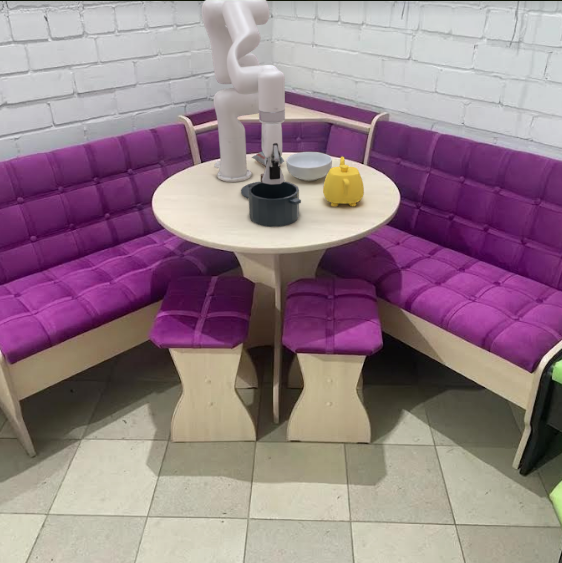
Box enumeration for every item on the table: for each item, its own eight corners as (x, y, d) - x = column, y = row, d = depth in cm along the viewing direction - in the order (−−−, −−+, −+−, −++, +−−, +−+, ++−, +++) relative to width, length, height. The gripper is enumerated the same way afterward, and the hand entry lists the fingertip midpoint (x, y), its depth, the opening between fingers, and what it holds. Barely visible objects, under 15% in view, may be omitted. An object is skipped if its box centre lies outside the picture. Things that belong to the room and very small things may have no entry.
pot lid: (264, 206, 186) (263, 187, 183) (231, 193, 196) (230, 175, 193) (298, 192, 196) (298, 174, 193) (265, 180, 206) (265, 163, 203)
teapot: (359, 188, 198) (361, 154, 192) (366, 212, 181) (368, 175, 175) (321, 189, 198) (322, 155, 192) (324, 212, 181) (325, 176, 175)
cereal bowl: (292, 167, 217) (292, 149, 214) (335, 171, 213) (336, 153, 210) (281, 183, 204) (280, 164, 200) (326, 187, 200) (326, 168, 196)
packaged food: (265, 170, 215) (264, 158, 212) (251, 161, 224) (251, 149, 221) (285, 167, 218) (285, 154, 216) (270, 158, 227) (270, 146, 225)
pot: (280, 234, 169) (279, 206, 164) (233, 214, 181) (232, 188, 177) (315, 218, 178) (315, 191, 173) (268, 200, 191) (268, 174, 186)
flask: (282, 185, 170) (282, 153, 165) (259, 184, 171) (258, 152, 166) (287, 177, 176) (286, 146, 171) (264, 176, 177) (263, 144, 172)
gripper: (255, 109, 170) (257, 167, 179) (263, 124, 155) (265, 186, 165) (279, 107, 171) (280, 165, 180) (290, 122, 157) (290, 184, 166)
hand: (273, 175), depth 172 cm, fingers closed on flask, 4 cm apart
